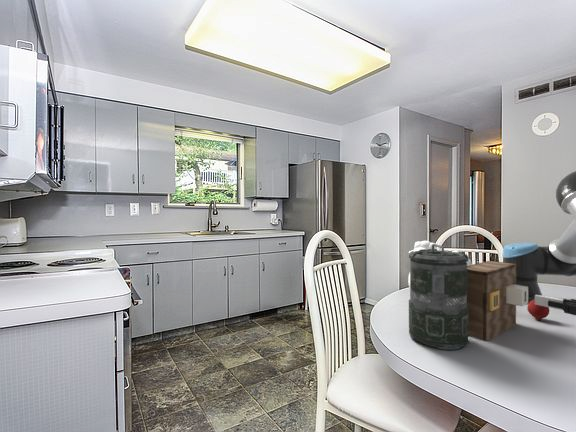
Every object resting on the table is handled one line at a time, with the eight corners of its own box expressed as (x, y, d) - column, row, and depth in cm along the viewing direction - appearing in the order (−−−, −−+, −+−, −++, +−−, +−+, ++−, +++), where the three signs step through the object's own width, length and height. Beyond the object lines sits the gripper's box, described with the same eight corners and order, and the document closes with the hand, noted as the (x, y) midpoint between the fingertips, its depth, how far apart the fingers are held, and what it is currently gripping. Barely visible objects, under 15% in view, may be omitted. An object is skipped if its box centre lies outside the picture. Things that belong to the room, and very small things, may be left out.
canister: (401, 328, 98) (401, 242, 98) (451, 328, 98) (451, 241, 97) (421, 351, 83) (421, 248, 82) (480, 351, 82) (481, 248, 81)
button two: (481, 303, 96) (481, 287, 96) (500, 307, 92) (500, 290, 92) (473, 306, 93) (473, 289, 93) (492, 311, 89) (492, 293, 89)
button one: (509, 299, 100) (509, 283, 100) (528, 303, 96) (529, 286, 96) (503, 302, 97) (503, 286, 97) (522, 306, 93) (522, 289, 93)
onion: (544, 317, 106) (544, 295, 106) (552, 323, 101) (552, 299, 101) (524, 316, 108) (524, 293, 108) (531, 321, 103) (531, 298, 103)
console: (489, 317, 108) (489, 260, 107) (515, 324, 101) (516, 263, 101) (458, 332, 95) (458, 268, 94) (486, 341, 88) (486, 272, 88)
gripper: (654, 345, 69) (527, 316, 88) (660, 331, 77) (542, 307, 96) (655, 312, 69) (527, 290, 88) (661, 302, 76) (542, 283, 96)
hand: (535, 299), depth 92 cm, fingers closed
